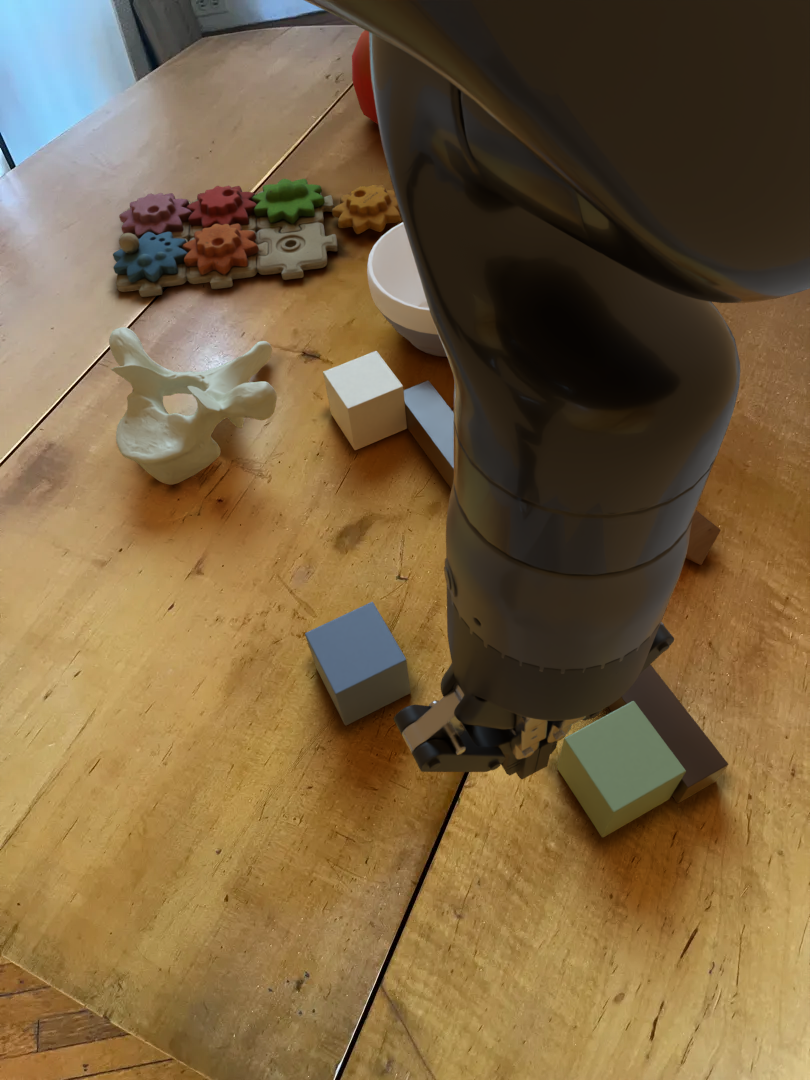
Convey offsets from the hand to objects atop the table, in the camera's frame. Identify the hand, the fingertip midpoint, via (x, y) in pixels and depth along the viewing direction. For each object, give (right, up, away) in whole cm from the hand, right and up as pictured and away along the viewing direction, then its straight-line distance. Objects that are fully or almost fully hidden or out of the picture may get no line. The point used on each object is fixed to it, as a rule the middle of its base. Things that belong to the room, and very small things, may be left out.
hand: (523, 756), depth 41 cm
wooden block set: (+11, +16, +24) cm, 30 cm away
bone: (-23, +21, +31) cm, 44 cm away
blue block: (-9, +1, +15) cm, 18 cm away
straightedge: (+3, +9, +19) cm, 22 cm away
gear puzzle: (-21, +43, +46) cm, 67 cm away
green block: (+7, -4, +10) cm, 13 cm away
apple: (-7, +62, +59) cm, 86 cm away
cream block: (-9, +21, +29) cm, 37 cm away
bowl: (-2, +31, +36) cm, 48 cm away
